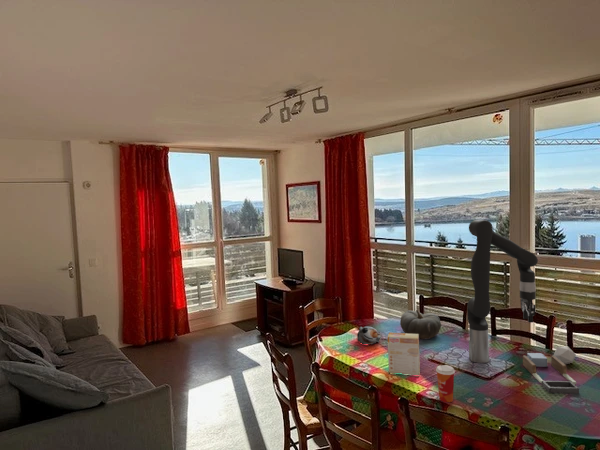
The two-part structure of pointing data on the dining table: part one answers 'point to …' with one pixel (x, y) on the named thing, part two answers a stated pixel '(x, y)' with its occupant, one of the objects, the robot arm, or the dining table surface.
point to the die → (564, 354)
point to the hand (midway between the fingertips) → (528, 320)
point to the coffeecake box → (403, 353)
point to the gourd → (420, 324)
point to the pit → (560, 387)
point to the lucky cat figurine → (368, 335)
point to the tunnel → (554, 362)
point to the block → (538, 359)
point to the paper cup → (445, 382)
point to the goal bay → (563, 375)
